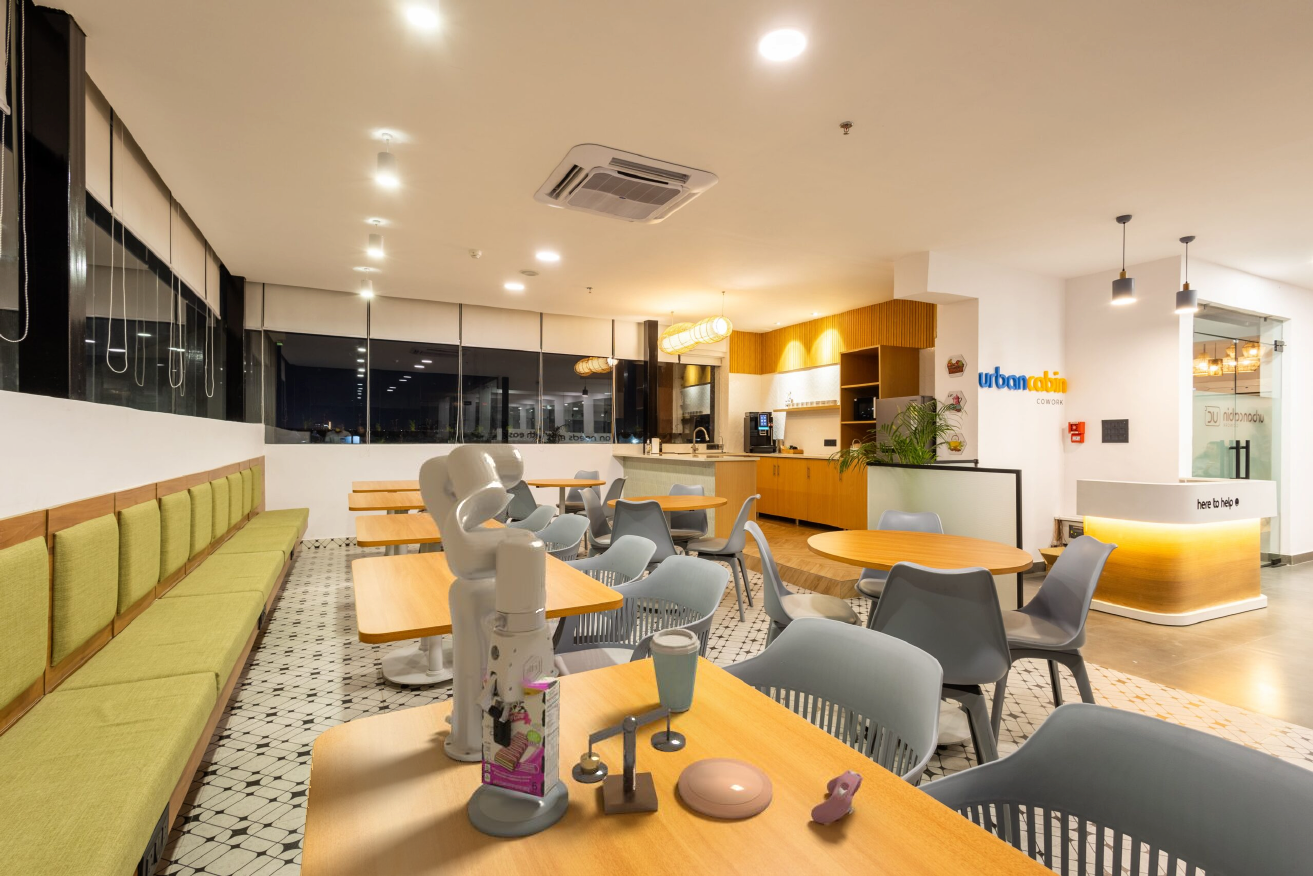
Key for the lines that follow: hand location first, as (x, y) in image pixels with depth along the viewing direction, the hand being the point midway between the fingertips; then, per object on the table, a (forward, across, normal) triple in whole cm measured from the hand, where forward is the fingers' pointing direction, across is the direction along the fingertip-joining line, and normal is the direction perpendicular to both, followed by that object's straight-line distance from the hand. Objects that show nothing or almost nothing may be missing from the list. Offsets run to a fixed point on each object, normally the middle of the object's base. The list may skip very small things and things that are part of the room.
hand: (519, 734), depth 95 cm
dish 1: (+11, 0, 0) cm, 11 cm away
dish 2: (+11, +23, -23) cm, 34 cm away
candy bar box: (+8, 0, 0) cm, 8 cm away
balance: (+11, +12, -12) cm, 20 cm away
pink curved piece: (+11, +29, -40) cm, 50 cm away
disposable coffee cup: (+11, +43, +1) cm, 44 cm away
